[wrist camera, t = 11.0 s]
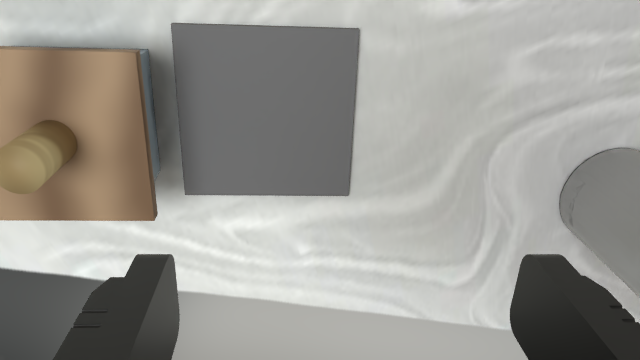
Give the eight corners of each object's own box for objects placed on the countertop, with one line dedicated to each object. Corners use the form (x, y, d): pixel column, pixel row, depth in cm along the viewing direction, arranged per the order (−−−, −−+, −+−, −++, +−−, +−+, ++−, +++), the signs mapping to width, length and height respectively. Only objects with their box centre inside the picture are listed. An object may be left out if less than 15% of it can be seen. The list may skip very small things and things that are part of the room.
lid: (139, 49, 32) (109, 69, 27) (157, 214, 37) (135, 258, 32) (-56, 44, 31) (-128, 63, 26) (-11, 213, 36) (-64, 259, 31)
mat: (358, 28, 38) (359, 29, 38) (347, 192, 44) (348, 195, 44) (172, 22, 37) (170, 24, 37) (186, 191, 43) (185, 194, 43)
